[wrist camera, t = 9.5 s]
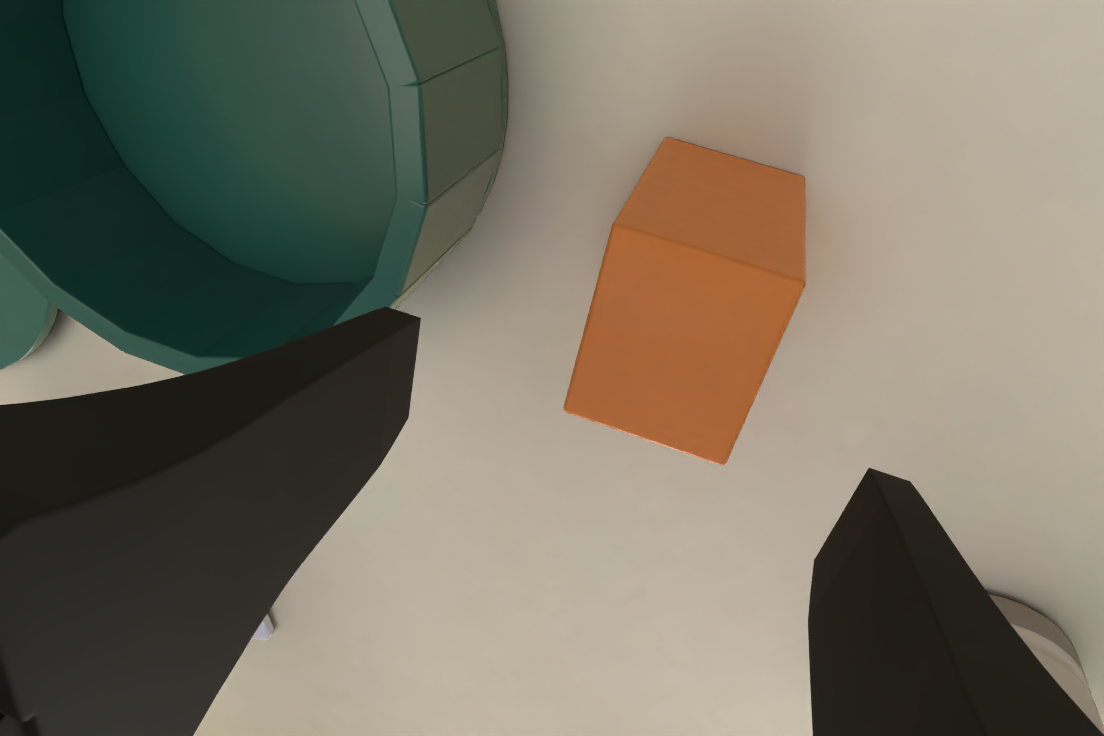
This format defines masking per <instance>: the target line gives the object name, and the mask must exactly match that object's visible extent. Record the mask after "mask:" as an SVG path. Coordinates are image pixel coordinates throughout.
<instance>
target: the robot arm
mask: <svg viewBox="0 0 1104 736" xmlns="http://www.w3.org/2000/svg"><path fill="white" fill-rule="evenodd" d="M420 321H421V318H419V317H416V316H413V315H410V314H407V313H404V312H401V311H398V310H395V309H392V308H389V307H383V308H380V309H376V310H373V311H371V312H368V313H365V314H363V315H360V316H357V317H355V318H352V319H350V320H347V321H344V322H342V323H339V324H337V325H334V326H332V327H329V328H327V329H324V330H321V331H319V332H316V333H313V334H311V335H308V336H305V337H303V338H300V339H297V340H295V341H292V342H290V343H287V344H284V345H281V346H279V347H276V348H272V349H269V350H266V351H263V352H260V353H257V354H254V355H251V356H248V357H245V358H242V359H239V360H236V361H233V362H230V363H227V364H224V365H220V366H217V367H213V368H210V369H206V370H203V371H199V372H195V373H191V374H187V375H183V376H179V377H175V378H170V379H166V380H162V381H158V382H153V383H149V384H144V385H139V386H134V387H128V388H122V389H116V390H110V391H104V392H98V393H92V394H86V395H80V396H74V397H68V398H61V399H53V400H44V401H36V402H27V403H18V404H7V405H0V736H193V735H194V733H195V731H196V730H197V728H198V726H199V724H200V723H201V721H202V719H203V717H204V716H205V714H206V712H207V711H208V709H209V707H210V705H211V704H212V702H213V700H214V699H215V697H216V695H217V694H218V692H219V690H220V689H221V687H222V685H223V684H224V682H225V680H226V679H227V677H228V676H229V674H230V672H231V671H232V669H233V667H234V666H235V664H236V663H237V661H238V659H239V658H240V656H241V654H242V653H243V651H244V649H245V648H246V646H247V645H248V643H249V641H250V640H251V638H252V639H258V640H268V639H269V638H270V637H271V636H272V634H273V633H274V628H273V625H272V623H271V621H270V619H269V617H268V614H267V613H268V612H269V610H270V609H271V607H272V605H273V604H274V602H275V601H276V599H277V598H278V596H279V595H280V593H281V591H282V590H283V588H284V587H285V586H286V584H287V583H288V581H289V580H290V579H291V577H292V576H293V575H294V573H295V572H296V571H297V569H298V568H299V566H300V565H301V564H302V563H303V561H304V560H305V559H306V558H307V556H308V555H309V554H310V553H311V551H312V550H313V549H314V548H315V546H316V545H317V544H318V543H319V541H320V540H321V539H322V538H323V536H324V535H325V534H326V533H327V532H328V530H329V529H330V528H331V527H332V525H333V524H334V523H335V522H336V520H337V519H338V518H339V517H340V515H341V514H342V513H343V512H344V510H345V509H346V508H347V507H348V505H349V504H350V503H351V502H352V500H353V499H354V498H355V497H356V495H357V494H358V493H359V492H360V490H361V489H362V488H363V487H364V485H365V484H366V483H367V482H368V480H369V479H370V478H371V476H372V475H373V474H374V473H375V471H376V470H377V469H378V467H379V466H380V465H381V463H382V461H383V460H384V458H385V457H386V455H387V453H388V452H389V450H390V448H391V447H392V445H393V443H394V442H395V440H396V438H397V437H398V435H399V433H400V431H401V430H402V428H403V426H404V424H405V423H406V421H407V419H408V416H409V408H410V400H411V393H412V385H413V377H414V369H415V361H416V353H417V345H418V337H419V329H420ZM808 633H809V660H810V683H811V705H812V726H813V736H1104V734H1103V733H1102V732H1101V731H1100V730H1099V729H1098V728H1097V727H1096V725H1095V724H1094V723H1093V722H1092V721H1091V720H1090V719H1089V718H1088V717H1087V715H1086V714H1085V713H1084V712H1083V711H1082V710H1081V709H1080V708H1079V706H1078V705H1077V704H1076V703H1075V702H1074V701H1073V700H1072V699H1071V697H1070V696H1069V695H1068V694H1067V693H1066V692H1065V691H1064V690H1063V689H1062V687H1061V686H1060V685H1059V684H1058V683H1057V682H1056V680H1055V679H1054V678H1053V677H1052V676H1051V674H1050V673H1049V672H1048V671H1047V670H1046V668H1045V667H1044V666H1043V665H1042V664H1041V662H1040V661H1039V660H1038V659H1037V657H1036V656H1035V655H1034V654H1033V652H1032V651H1031V650H1030V648H1029V647H1028V646H1027V645H1026V643H1025V642H1024V641H1023V639H1022V638H1021V637H1020V636H1019V634H1018V633H1017V632H1016V630H1015V629H1014V628H1013V627H1012V625H1011V624H1010V623H1009V622H1008V620H1007V619H1006V617H1005V616H1004V615H1003V613H1002V612H1001V611H1000V609H999V608H998V607H997V605H996V604H995V603H994V601H993V600H992V598H991V597H990V596H989V594H988V593H987V592H986V590H985V589H984V587H983V586H982V585H981V583H980V582H979V580H978V579H977V577H976V576H975V575H974V573H973V572H972V570H971V569H970V567H969V566H968V564H967V563H966V561H965V560H964V559H963V557H962V556H961V554H960V553H959V551H958V550H957V548H956V547H955V545H954V544H953V542H952V541H951V539H950V538H949V536H948V535H947V533H946V532H945V530H944V529H943V527H942V526H941V525H940V523H939V522H938V520H937V519H936V517H935V516H934V514H933V513H932V511H931V510H930V508H929V507H928V505H927V504H926V502H925V501H924V500H923V498H922V497H921V495H920V494H919V492H918V491H917V490H916V488H915V487H914V486H913V485H912V483H911V482H910V481H907V480H904V479H901V478H898V477H895V476H892V475H889V474H886V473H883V472H880V471H877V470H874V469H871V468H868V470H867V472H866V474H865V475H864V477H863V479H862V480H861V482H860V484H859V485H858V487H857V489H856V490H855V492H854V494H853V496H852V497H851V499H850V501H849V502H848V504H847V506H846V507H845V509H844V511H843V512H842V514H841V516H840V518H839V519H838V521H837V523H836V524H835V526H834V528H833V529H832V531H831V533H830V534H829V536H828V538H827V540H826V541H825V543H824V545H823V546H822V548H821V550H820V551H819V553H818V555H817V556H816V558H815V560H814V566H813V575H812V584H811V593H810V604H809V616H808Z"/></svg>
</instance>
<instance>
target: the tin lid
mask: <svg viewBox="0 0 1104 736" xmlns="http://www.w3.org/2000/svg"><path fill="white" fill-rule="evenodd" d="M57 310H58V308H57V307H55V306H54V305H52V304H51V303H49V302H48V301H47V299H45V298H44V297H43V296H42V295H41V294H40V293H39V292H38V291H37V290H36V289H35V288H34V287H33V286H32V285H31V284H30V283H29V282H28V281H27V280H26V279H25V278H24V277H23V276H22V275H21V274H20V273H19V272H18V271H17V270H16V269H15V268H14V267H13V266H12V265H11V264H10V263H9V262H8V261H7V260H6V259H5V258H4V257H3V256H2V255H1V254H0V370H1V369H4V368H7V367H9V366H11V365H13V364H15V363H17V362H19V361H21V360H22V359H24V358H26V357H27V356H29V355H30V354H31V353H32V352H33V351H35V350H36V349H37V348H38V347H39V346H40V345H41V343H42V342H43V341H44V340H45V338H46V337H47V336H48V334H49V332H50V330H51V328H52V325H53V323H54V321H55V319H56V315H57Z"/></svg>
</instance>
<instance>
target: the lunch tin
mask: <svg viewBox="0 0 1104 736" xmlns="http://www.w3.org/2000/svg"><path fill="white" fill-rule="evenodd" d="M507 105H508V77H507V67H506V56H505V46H504V40H503V36H502V31H501V26H500V22H499V17H498V12H497V7H496V4H495V0H0V254H1V255H2V256H3V257H4V258H5V259H6V260H7V261H8V262H9V263H10V264H11V265H12V266H13V267H14V268H15V269H16V270H17V271H18V272H19V273H20V274H21V275H22V276H23V277H24V278H25V279H26V280H27V281H28V282H29V283H30V284H31V285H32V286H33V287H34V288H35V289H36V290H37V291H38V292H39V293H40V294H41V295H42V296H43V297H44V298H45V299H47V301H48V302H49V303H51V304H52V305H54V306H55V307H57V308H58V309H60V310H61V311H63V312H64V313H66V314H67V315H69V316H70V317H72V318H73V319H75V320H76V321H78V322H79V323H81V324H82V325H84V326H85V327H87V328H88V329H90V330H91V331H93V332H94V333H96V334H97V335H99V336H100V337H102V338H103V339H105V340H106V341H108V342H109V343H111V344H112V345H114V346H115V347H117V348H118V349H120V350H121V351H124V352H125V353H127V354H130V355H133V356H136V357H139V358H141V359H144V360H147V361H150V362H153V363H155V364H158V365H161V366H164V367H166V368H169V369H172V370H175V371H178V372H180V373H183V374H186V375H187V374H191V373H195V372H199V371H203V370H206V369H210V368H213V367H217V366H220V365H224V364H227V363H230V362H233V361H236V360H239V359H242V358H245V357H248V356H251V355H254V354H257V353H260V352H263V351H266V350H269V349H272V348H276V347H279V346H281V345H284V344H287V343H290V342H292V341H295V340H297V339H300V338H303V337H305V336H308V335H311V334H313V333H316V332H319V331H321V330H324V329H327V328H329V327H332V326H334V325H337V324H339V323H342V322H344V321H347V320H350V319H352V318H355V317H357V316H360V315H363V314H365V313H368V312H371V311H373V310H376V309H380V308H383V307H389V308H392V309H395V308H396V307H397V306H398V305H399V304H400V303H401V302H402V301H403V300H404V299H405V298H407V297H408V296H409V295H410V294H411V293H412V292H413V291H414V290H415V289H416V288H417V287H418V286H419V285H420V284H421V283H422V282H423V281H424V280H425V279H426V278H427V277H428V276H429V275H430V273H431V272H432V271H433V270H434V269H435V268H436V267H437V266H438V265H439V264H440V263H441V261H442V260H443V259H444V258H445V257H446V256H447V255H448V254H449V253H450V252H451V251H452V250H453V249H454V247H455V246H456V245H457V244H458V243H459V242H460V241H461V240H462V238H463V237H464V236H465V235H466V234H467V233H468V232H469V231H470V230H471V229H472V227H473V225H474V223H475V220H476V218H477V216H478V215H479V213H480V211H481V210H482V208H483V205H484V203H485V201H486V199H487V196H488V194H489V192H490V190H491V187H492V185H493V183H494V179H495V176H496V172H497V169H498V165H499V162H500V158H501V155H502V151H503V144H504V137H505V130H506V123H507Z"/></svg>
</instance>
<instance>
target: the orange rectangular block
mask: <svg viewBox="0 0 1104 736" xmlns="http://www.w3.org/2000/svg"><path fill="white" fill-rule="evenodd" d="M804 287H805V178H804V177H803V176H799V175H796V174H792V173H789V172H786V171H782V170H779V169H775V168H772V167H768V166H765V165H762V164H758V163H755V162H751V161H748V160H744V159H741V158H737V157H734V156H731V155H727V154H724V153H720V152H717V151H713V150H710V149H707V148H703V147H700V146H696V145H693V144H689V143H686V142H682V141H679V140H676V139H672V138H669V137H666V138H664V140H663V141H662V143H661V145H660V146H659V148H658V150H657V151H656V153H655V155H654V156H653V158H652V160H651V161H650V163H649V165H648V166H647V168H646V170H645V171H644V173H643V175H642V176H641V178H640V180H639V181H638V183H637V185H636V186H635V188H634V190H633V191H632V193H631V195H630V196H629V198H628V200H627V201H626V203H625V205H624V206H623V208H622V210H621V211H620V213H619V215H618V216H617V218H616V220H615V221H614V223H613V225H612V227H611V231H610V235H609V238H608V242H607V246H606V250H605V253H604V257H603V261H602V265H601V268H600V272H599V276H598V280H597V283H596V287H595V291H594V295H593V298H592V302H591V306H590V310H589V313H588V317H587V321H586V325H585V328H584V332H583V336H582V340H581V343H580V347H579V351H578V355H577V358H576V362H575V366H574V370H573V373H572V377H571V381H570V384H569V388H568V392H567V396H566V399H565V403H564V411H565V412H567V413H570V414H573V415H575V416H578V417H581V418H584V419H587V420H590V421H593V422H596V423H599V424H602V425H605V426H608V427H611V428H613V429H616V430H619V431H622V432H625V433H628V434H631V435H634V436H637V437H640V438H643V439H646V440H649V441H651V442H654V443H657V444H660V445H663V446H666V447H669V448H672V449H675V450H678V451H681V452H684V453H687V454H689V455H692V456H695V457H698V458H701V459H704V460H707V461H710V462H713V463H716V464H719V465H724V464H725V463H726V462H727V460H728V458H729V456H730V453H731V451H732V449H733V447H734V444H735V442H736V440H737V438H738V435H739V433H740V431H741V429H742V426H743V424H744V422H745V420H746V417H747V415H748V413H749V411H750V408H751V406H752V404H753V402H754V399H755V397H756V395H757V393H758V390H759V388H760V386H761V384H762V382H763V379H764V377H765V375H766V373H767V370H768V368H769V366H770V364H771V361H772V359H773V357H774V355H775V352H776V350H777V348H778V346H779V343H780V341H781V339H782V337H783V334H784V332H785V330H786V328H787V325H788V323H789V321H790V319H791V316H792V314H793V312H794V310H795V307H796V305H797V303H798V301H799V298H800V296H801V294H802V292H803V289H804Z"/></svg>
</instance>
